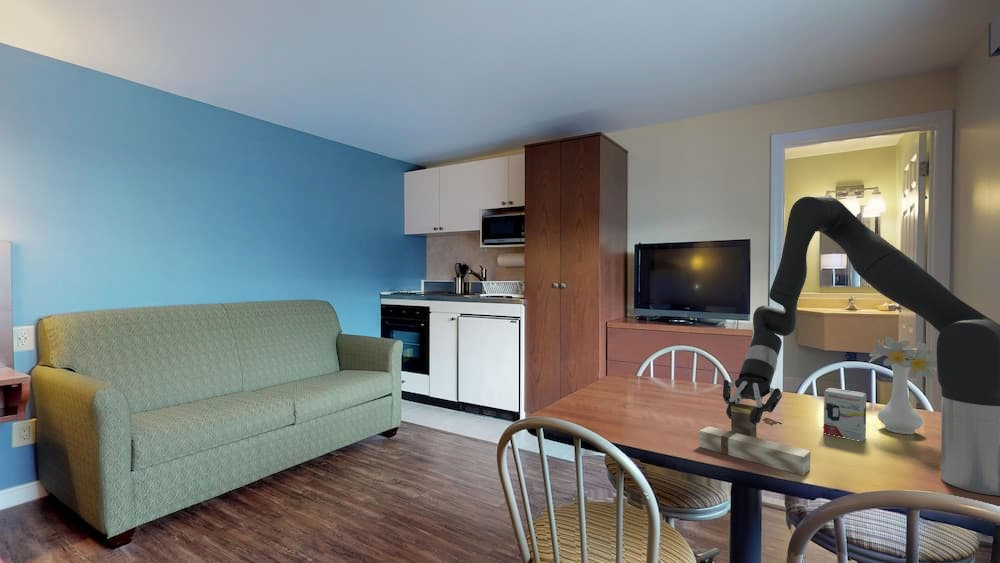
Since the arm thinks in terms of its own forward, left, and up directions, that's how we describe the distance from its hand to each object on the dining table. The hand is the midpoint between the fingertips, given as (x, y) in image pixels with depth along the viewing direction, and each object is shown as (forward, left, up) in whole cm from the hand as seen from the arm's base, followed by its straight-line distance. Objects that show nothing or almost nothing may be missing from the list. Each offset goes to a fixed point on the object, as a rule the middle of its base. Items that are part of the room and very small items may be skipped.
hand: (741, 419), depth 114 cm
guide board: (-5, +8, -6) cm, 11 cm away
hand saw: (+8, -29, -7) cm, 31 cm away
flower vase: (-26, -42, -6) cm, 50 cm away
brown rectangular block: (0, -2, -6) cm, 6 cm away
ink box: (-16, -26, -6) cm, 31 cm away
